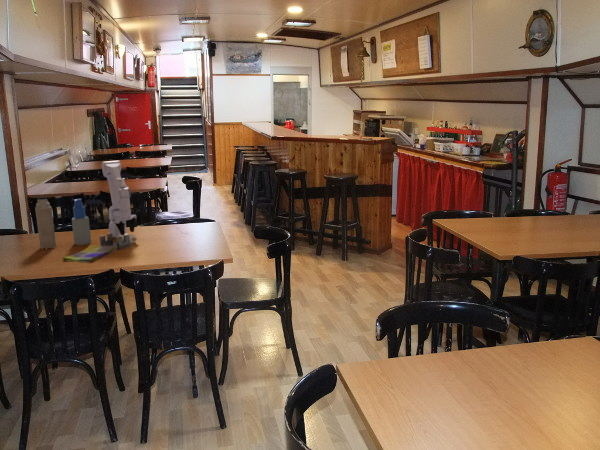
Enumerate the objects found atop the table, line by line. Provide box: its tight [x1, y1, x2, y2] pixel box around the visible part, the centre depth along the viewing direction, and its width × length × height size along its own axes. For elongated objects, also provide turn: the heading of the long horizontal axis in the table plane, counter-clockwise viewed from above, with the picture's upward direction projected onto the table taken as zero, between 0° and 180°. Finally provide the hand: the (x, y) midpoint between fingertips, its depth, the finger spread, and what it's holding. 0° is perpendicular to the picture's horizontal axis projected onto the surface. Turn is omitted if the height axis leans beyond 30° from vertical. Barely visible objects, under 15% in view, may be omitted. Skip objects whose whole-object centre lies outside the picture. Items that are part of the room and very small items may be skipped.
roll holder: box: [99, 232, 133, 251], centre depth 306 cm, size 15×10×6 cm, turn 64°
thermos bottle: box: [34, 196, 57, 250], centre depth 305 cm, size 8×8×28 cm
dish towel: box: [62, 245, 118, 264], centre depth 290 cm, size 18×24×3 cm
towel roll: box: [117, 233, 138, 244], centre depth 314 cm, size 13×5×5 cm, turn 64°
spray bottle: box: [71, 198, 92, 246], centre depth 313 cm, size 9×9×25 cm
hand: (127, 233), depth 314 cm, fingers open, 7 cm apart
